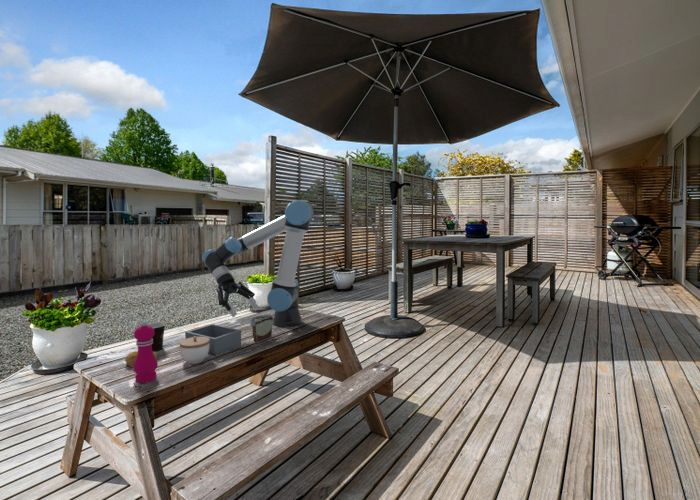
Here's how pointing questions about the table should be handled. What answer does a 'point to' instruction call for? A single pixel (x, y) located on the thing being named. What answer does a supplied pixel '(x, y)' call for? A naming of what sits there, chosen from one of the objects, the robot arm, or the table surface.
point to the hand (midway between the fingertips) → (246, 312)
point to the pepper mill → (144, 354)
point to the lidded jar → (195, 349)
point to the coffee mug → (157, 335)
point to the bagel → (134, 358)
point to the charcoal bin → (218, 338)
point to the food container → (262, 327)
